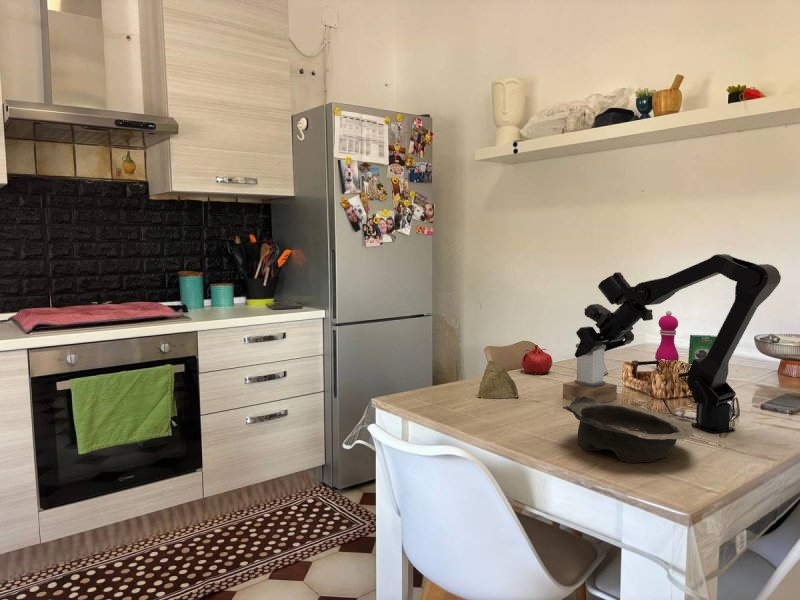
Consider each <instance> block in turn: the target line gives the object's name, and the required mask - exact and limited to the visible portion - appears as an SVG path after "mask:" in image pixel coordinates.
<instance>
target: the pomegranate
mask: <svg viewBox="0 0 800 600" xmlns="http://www.w3.org/2000/svg"><path fill="white" fill-rule="evenodd" d="M527 351H528V352H527ZM545 351H547V352H549V350H548V349H546V348H539V345H538V344H535V345H534V347H532V348H531V349H526V350H525V354H524V355H523V356H522V358H521V366H522V368H523V370H524V372H526V373H528V374H530V373H531V374H530V375H543V374H546V373H548V372H550V370H551V368H552V367H553V358H552V355H550V354H549V353H547V352H545Z"/></svg>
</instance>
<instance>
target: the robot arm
mask: <svg viewBox="0 0 800 600" xmlns="http://www.w3.org/2000/svg"><path fill="white" fill-rule="evenodd" d="M720 274H721V275H722V276H724V277H725V278H727V279H729V280H730V281H734V282H736V284H735V286H734V288H735V293H734V301H733V304H732V306H731V307H730V309H729V311H728V313H727V314H726V317H725V318H724V321H723V323H722V325H721V327H720V329H719V330H718V332H717V335H716V336H717V337H716V339H715V341H714V343H713V345H712V347H711V348H710V350H709V352H708V354H707V356H706V357H702V358H698V359H694V360H693V362H692V365H691V368H690V370H689V371H688V370H687V372H686V373H685V375H686V376H687V377H686V384H687V387H688V390H689V391H691V395H692V397H693V401H694V403H695V404H696V411H695V412H696V414H695V422H691V425H690V426H691V427H692V426H693V427H695V428H698V429H700V430H703V431H706V432H709V433H710V434H711V433H712V434H717V433H718V434H719V433H727V432H733V431H735V429H736V428H734V427H732V426H730V420H731V417H730V416H731V404H730V403H729V402H733V401H734V400H735V397H736V395H737V393H736V391H735V390H734V389H733V388H732V386H731V385H729V383H728V382H727V378H728V376H729V363H730V360H731V358H732V357H733V354H734V353H735V350H736V349H737V347H738V344H739V343H740V341H741V339H742V338H743V335H744V334H745V331H746V330H747V328H748V326H749V324H750V322H751V320H752V318H753V317H754V314H755V312H756V311H757V309H758V307H759V306H760V305H761V304H762V303H764V302H765V301H766V300H767V299H768V298H769V297H770V296H771V294H772V293H773V292H774V291H775V289H776V288H778V287H779V284H780V282H781V279H782V275H781V273H780V272H779V270H778V269H777V267H775V266H774V265H773V264H768V263H765V264H763V263H762V264H757V263H754V262H750V261H747V260H744V259H741V258H737V257H734V256H732V255H731V254H726V253H724V254H723V253H721V254H718V253H717V254H713V255H712V256H711V257H710V258H707V259H705V260H703V261H700V262H698V263H696V264H694V265H691V266H689V267H687V268H684V269H682V270H680V271H678V272H675V273H673V274H671V275H668V276H666V277H661V278H656V279H650V280H646V281H641V282H638V284H636V285H635V286H631V284H629V282H628V281H627V280H626V279H625V276H623V274H622V273H621V272H614V273H613V274H611V275H609V276H608V277H606V278H605V279H603V280H601V281H600V282H599V284H598V285H597V288H598V290H599V291H600V292H601V294H602V295H603V296H604V297H605V298H606V300H607V301H608V302H609V304H611V305H616V306H618V308H617V309H615V310H614V311H613V312H612V311H611V310H609V309H608V308H606V307H605V306H604V305H602V304H599V303H593V304H592V303H591V304H589V305H587V307H585V308H584V315H585V317H586V318H589V319H590V320H592V321H593V322H596V323H595V324H594V325H595V327H596V328H597V329H598V331H599V332H597V330H596V329H594V327H593V326H582V327H579V328H578V329H577V330H576V332H575V334H576V335H577V337H578V339H579V340H580V341H579V343H578V344H579V346H578V348H576V351H575V352H574V357H575V358H576V359H577V358H578V357H581V356H584V355H586V354H589V353H591V352H594V351H597V349H598V348H600V347H601V346H602V345H606V349H604V353H605V352H608V351H611V350H614V349H617V348H620V347H621V348H622V347H625V346H626V345H630V344H631V343H632V342H633V341H634V340H635V334H634V333H633V332H632V331H633V330H634V327H633V326H634V325H635V324H637V323H638V322H639V321H640V320H641V319H642V321H644V322H646V321H652V320H654V316H653V309H649V308H648V307H646V306H654V305H660V304H662V303H664V302H666V301H667V300H669V299H670V298H672V297H673V296H674V295H675V294H676V293H677V292H679V291H681V290H683V289H686V288H688V287H692V286H693V285H695V284H697V283H701V282H704V281H706V280H708V279H710V278H713V277H716V276H718V275H720Z"/></svg>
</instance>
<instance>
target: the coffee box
mask: <svg viewBox="0 0 800 600" xmlns="http://www.w3.org/2000/svg"><path fill="white" fill-rule="evenodd" d="M716 337H717V335H712V334H709V335H708V334H707V335H706V334H690V335H689V345H688V359H687V360H688V361H687V364H688V363H689V364H692V362H693V360H694V359H698V358H702V357H706V356H707V354H708V352H709V350H710V348H711V347H712V345H713V343H714V341H715V339H716Z"/></svg>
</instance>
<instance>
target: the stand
mask: <svg viewBox="0 0 800 600" xmlns="http://www.w3.org/2000/svg"><path fill="white" fill-rule="evenodd" d="M617 390H618V385H617V384H614V383H608V382H605V385H603V386H599V387H595V388H592V387H588V386H583V385H579V384H575V380H572V381H569V382H564V383H563V384H562V399H567V400H570V401H575V399H576V398H581V397H584V396H585V397H587V398H592V399H593V400H595V401H597V402H599V403H602V404H604V403H609V402H613V401H616V400H617Z"/></svg>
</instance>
